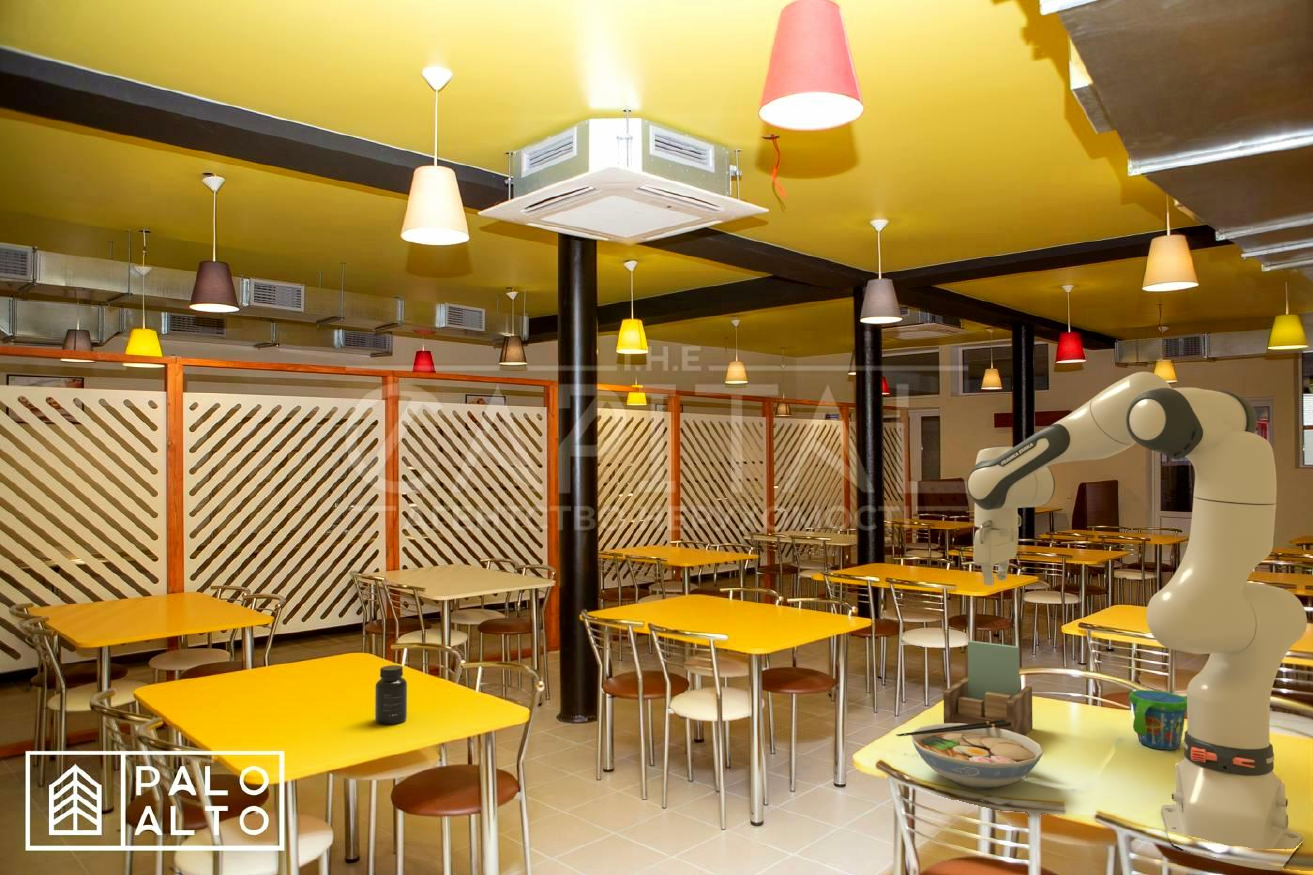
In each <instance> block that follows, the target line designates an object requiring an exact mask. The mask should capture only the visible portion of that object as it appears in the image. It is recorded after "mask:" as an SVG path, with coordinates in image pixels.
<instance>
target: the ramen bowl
mask: <svg viewBox="0 0 1313 875" xmlns="http://www.w3.org/2000/svg"><path fill="white" fill-rule="evenodd" d="M1004 726H1011V722H1005V720H1004V719H1000V720H993V721H987V722H980V723H973V724H963V723H946V724H944V723H934V724H930V725H924V726H920V727H918V728H917V729H915V730H913V731H911V732H904V733H897V734H896V736H897V737H906V736H907V737H908V736H911V739H910V740H911V742H912V743H913V746H914V748H915V750H916V751H917V752H918V754H919V756H920V758H921V759H922V760H923V761H924V763H925V764H926V765H928V767H929V768H931V769H932V770H933V771H935V772H936V773H937V774H938V775H940V776H942V777H944V778H946V779H949V780H952V781H954V782H955V783H957V784H959V785H961V786H963V787H965V786H967V787H966V788H969V787H971V788H970V789H974V788H979V789H978V790H989V789H994V788H997V787H1002V786H1006V785H1011V784H1015V783H1016V782H1018V781H1021V780H1022V779H1023V778H1024V777H1025V776H1027V775H1028V774H1029V773H1030V772H1031V771H1032V770H1033V769H1034V767H1035V766H1036V765H1037V764H1038V762H1040V759H1041V758H1042V756H1043V754H1044V751H1043V749H1042V748H1043V747H1041V745H1040V743H1038V742H1036V741H1035V740H1033V739H1032V738H1030V737H1028V736H1027V735H1026V736H1024V735H1021V734H1018V733H1015V732H1012V731H1009V730H1004V729H999V728H994V727H1004Z"/></svg>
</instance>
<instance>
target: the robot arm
mask: <svg viewBox="0 0 1313 875" xmlns="http://www.w3.org/2000/svg"><path fill="white" fill-rule="evenodd" d="M1257 426H1258V417H1257V413H1256V410H1255V408H1254V406H1253V405H1252V403H1251V402H1249V401H1248V400H1247V399H1246V398H1245V397H1243V396H1241V395H1239V394H1237V393H1233V392H1230V391H1226V390H1211V389H1203V388H1201V387H1200V388H1199V387H1172V386H1171V385H1170V384H1169V383H1168V381H1166V380H1165V379H1164V378H1163V377H1162V376H1160V375H1158V374H1156V373H1153V372H1149V371H1138V372H1134V373H1132V374H1130V375H1127V376H1126V377H1124V378H1122V379H1120V380H1118V381H1116V382H1115V383H1113V384H1111V385H1109V386H1108V387H1106V388H1105V389H1103V390H1101V391H1100V392H1098V394H1096V395H1095V396H1094V397H1092V398H1091V399H1090V400H1088V401H1087V402H1085V403H1084V404H1083V405H1082V406H1080V407H1078V408H1076V409H1075V410H1074V411H1072V412H1070V413H1069V414H1068V415H1066V416H1064V417H1063V418H1061V419H1059V420H1057V421H1056V422H1054V423H1052V424H1051V425H1049V426H1047V427H1045V428H1043V429H1041V430H1039V431H1037V432H1036V433H1035V434H1032V435H1030V436H1029V437H1027V438H1026V439H1024V440H1023V441H1022V442H1020V443H1018V444H1017V445H1015V446H1014V447H1013V446H1011V445H993V446H987V447H984V448H982V449H980V450H979V451H978V453H977V455H976V460H975V466H974V467H973V468H972V469H971V471H970V473H969V475H968V478H967V482H966V488H967V491H968V495H969V497H970V498H971V499H972V501H973V502H974V508H973V509H974V527H976V528H979V529H977V530H976V531H975V533H974V541H973V555H972V557H973V558H972V559H973V563H974V565H975V566H981V573H982V577H983V584H984V586H987V587H988V586H989V587H990V586H993V585H994V584H995V576H994V571H993V570H994V566H996V565H997V571H996V579H997V580H998V581H1006V580H1007V578H1008V569H1009V565H1010V560H1011V559H1012V560H1013V559H1014V558H1016V556H1017V553H1018V549H1019V548H1018V546H1019V545H1018V544H1019V527H1021V526H1022V517H1021V515H1019V513H1018V512H1019V511H1018V509H1021V508H1037V507H1041V506H1045V505H1047V504H1048V503H1050V501H1051V499H1052V498H1053V496H1054V494H1055V490H1056V479H1055V476H1054V474H1053V471H1052V470H1051V469H1050V468H1049V466H1053V465H1057V464H1062V463H1067V462H1069V463H1070V462H1076V461H1092V460H1094V461H1095V460H1102V459H1106V458H1109V457H1112V456H1115V455H1117V454H1121V453H1123V452H1124V451H1126V450H1128V449H1130V448H1131V447H1132V446H1134V445H1135V444H1138V445H1140V446H1142V447H1143V448H1146V449H1149V450H1151V451H1154V452H1156V453H1159V454H1162V455H1164V456H1166V457H1168V458H1171V459H1173V460H1177V461H1178V460H1180V459H1183V458H1186V459H1188V460H1189V462H1190V463H1191V464H1192V466H1193V470H1194V486H1193V487H1194V488H1193V496H1192V497H1193V498H1192V499H1193V500H1192V511H1191V522H1190V531H1189V538H1188V543H1187V547H1186V550H1185V552H1184V554H1183V557H1182V559H1181V561H1180V563H1179V566H1178V568H1177V569H1176V571H1175V572H1174V574H1173V576H1172V577H1171V579H1170V580H1169V581H1168V582H1167V583H1166V584H1165V586H1163V587H1162V588H1161V589H1160V590H1158V591H1157V592H1156V593H1154V594H1153V595H1152V597H1151V598H1150V600H1149V601H1148V604H1147V607H1146V615H1145V616H1146V623H1147V627H1148V630H1149V631H1150V633H1151V635H1152V637H1154V639H1155V640H1156V641H1157V642H1158V643H1159V645H1161V646H1163V647H1164V648H1166V649H1168V650H1173V651H1177V652H1181V653H1188V654H1194V655H1206V654H1208V655H1209V657H1208V660H1207V661H1206V662H1205V665H1204V666H1203V668H1202V669H1201V671H1199V672H1198V673H1197V674H1196V675H1195V676H1193V677H1192V678H1191V679H1190V681H1189V683H1188V685H1187V687H1186V699H1187V710H1186V717H1187V718H1186V721H1187V722H1186V726H1187V728H1186V731H1184V738H1183V748H1184V750H1183V754H1184V755H1183V756H1184V758H1183V759H1181V760H1180V761H1178V762H1176V763H1175V766H1174V767H1175V770H1174V771H1175V777H1174V778H1175V783H1174V784H1175V791H1173V792H1172V793H1171V800H1172V802H1175V804H1162V806H1161V809H1160V815H1161V817H1162V821H1163V825H1164V828H1165V831H1170V832H1175V833H1179V834H1183V835H1186V836H1191V837H1196V838H1201V839H1205V840H1208V841H1212V842H1216V843H1221V844H1224V845H1228V846H1243V847H1248V848H1253V849H1262V850H1266V849H1285V850H1286V849H1294V848H1296V846H1298V845H1299V844H1300V843H1301V842H1302V841H1303V842H1304V840H1303V839H1304V838H1303V834H1301V833H1299V832H1298V831H1296V830H1292V829H1290V828H1289V827H1288V826H1289V815H1288V813H1287V812H1288V811H1287V808H1288V804H1289V802H1288V798H1287V794H1286V792H1287V791H1286V790H1287V789H1286V784H1285V783H1284V782H1283V781H1282V780H1281V779H1280V778H1279V777H1278V776H1277V775H1276V774H1275V773H1274V771H1273V770H1274V769H1275V767H1274V766H1275V765H1274V761H1275V752H1274V747H1273V744H1272V743H1271V742H1270V716H1271V715H1270V714H1271V713H1270V712H1271V708H1270V707H1271V696H1272V690H1273V687H1274V686H1273V685H1274V683H1275V680H1276V677H1277V674H1278V671H1279V669H1280V667H1281V664H1282V663H1283V661H1284V659H1285V656H1286V655H1287V654H1288V652H1289V651H1290V649H1291V648H1292V647H1293V646H1295V644H1296V643H1297V642H1299V641H1300V640H1301V639H1302V638H1303V636H1304V635H1305V633H1306V630H1307V627H1308V626H1307V625H1308V618H1307V613H1306V610H1305V607H1304V605H1303V604H1302V601H1301V600H1300V599H1299V598H1298V597H1297V596H1296V595H1295V594H1294V593H1292V592H1291V591H1290V590H1287V589H1285V588H1282V587H1278V586H1274V585H1268V584H1265V583H1259V582H1247V581H1248V579H1249V577H1250V576H1251V574H1252V573H1253V571H1254V570H1255V568H1256V567H1257V566H1259V564H1261V563H1262V562H1263V561H1264V560H1266V559H1267V558H1268V557H1269V556H1270V555H1271V553H1272V551H1273V548H1274V538H1275V537H1274V536H1275V535H1274V534H1275V524H1276V512H1277V511H1276V510H1277V492H1278V490H1277V489H1278V488H1277V486H1278V485H1277V482H1278V480H1277V471H1276V462H1275V455H1274V449H1273V447H1272V445H1271V444H1270V442H1269V441H1268V440H1267V439H1266V438H1264V437H1262V436H1261V435H1259V434H1256V433H1255V432H1256V429H1257ZM1183 851H1184V852H1187V853H1191V854H1193V855H1197V856H1200V857H1203V858H1207V859H1211V860H1214V861H1218V862H1223V863H1227V864H1231V865H1235V866H1239V867H1245V868H1250V869H1251V868H1252V869H1258V870H1266V871H1268V870H1269V871H1282V870H1283V869H1284V867H1282V866H1274V865H1269V864H1265V863H1260V862H1254V861H1238V860H1226V859H1222V858H1216V857H1212V856H1209V855H1206V854H1200V853H1193V852H1189V851H1186V850H1183Z"/></svg>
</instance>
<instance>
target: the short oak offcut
mask: <svg viewBox="0 0 1313 875" xmlns="http://www.w3.org/2000/svg"><path fill="white" fill-rule="evenodd" d="M958 713H960V714H966V715H972V716H977V717H983V718H984V700H978V699H972V698H966V697H960V698H958Z"/></svg>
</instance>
